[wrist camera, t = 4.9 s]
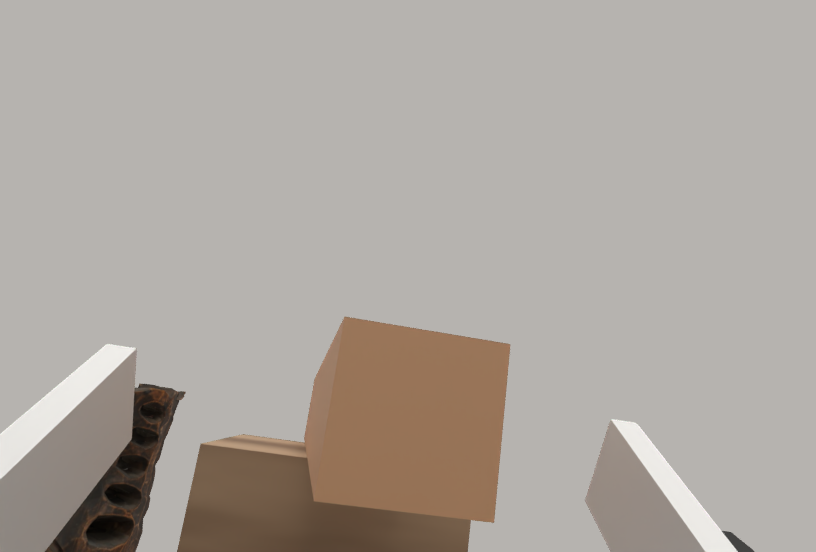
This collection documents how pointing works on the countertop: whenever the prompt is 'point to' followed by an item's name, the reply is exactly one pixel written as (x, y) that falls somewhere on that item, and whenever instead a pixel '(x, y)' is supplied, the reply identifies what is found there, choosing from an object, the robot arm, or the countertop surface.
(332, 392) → the bar
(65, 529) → the statue
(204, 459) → the walnut stand
